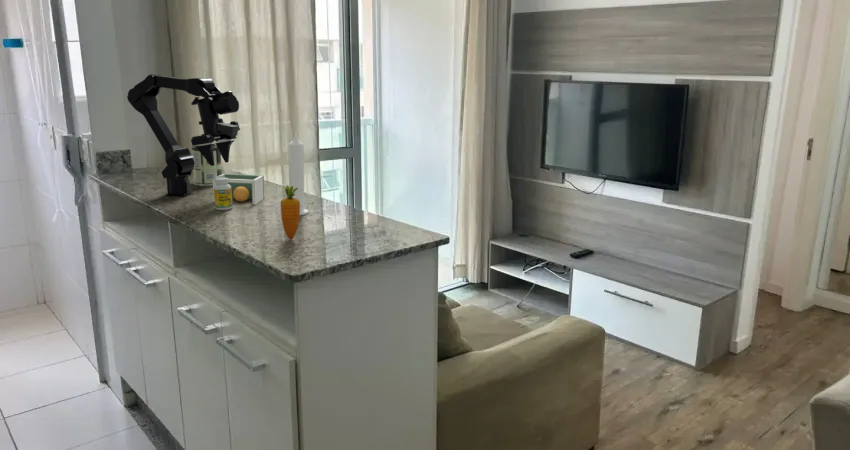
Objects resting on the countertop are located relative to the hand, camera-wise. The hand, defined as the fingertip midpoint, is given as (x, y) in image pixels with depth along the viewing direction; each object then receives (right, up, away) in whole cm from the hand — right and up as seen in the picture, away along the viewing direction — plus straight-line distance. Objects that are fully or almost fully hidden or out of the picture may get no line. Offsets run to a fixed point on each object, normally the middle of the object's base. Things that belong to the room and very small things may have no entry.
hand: (220, 164), depth 207 cm
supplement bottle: (+4, -15, -9) cm, 18 cm away
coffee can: (-14, -5, +28) cm, 32 cm away
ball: (+7, -10, +1) cm, 12 cm away
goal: (+6, -12, +2) cm, 14 cm away
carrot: (+32, -24, -41) cm, 57 cm away
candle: (+28, -17, -11) cm, 34 cm away
